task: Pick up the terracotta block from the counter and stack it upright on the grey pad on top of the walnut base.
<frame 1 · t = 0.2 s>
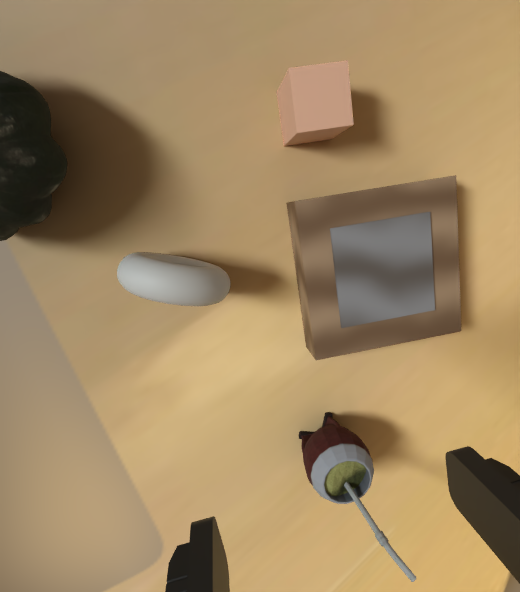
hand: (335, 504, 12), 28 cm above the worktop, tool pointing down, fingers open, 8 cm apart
donut: (180, 269, 38), on the worktop
mate gourd: (326, 436, 45), on the worktop
terracotta block: (304, 116, 37), on the worktop
squash: (1, 159, 34), on the worktop
walnut base: (367, 265, 41), on the worktop
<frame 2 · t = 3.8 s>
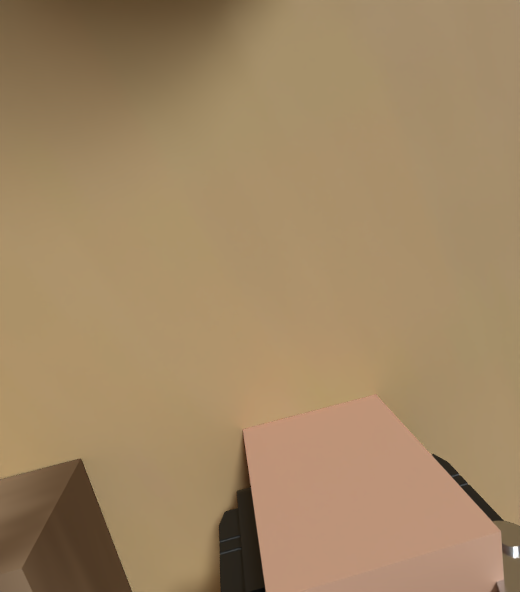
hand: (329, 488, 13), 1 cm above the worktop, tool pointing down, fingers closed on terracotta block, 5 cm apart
terracotta block: (321, 469, 14), on the worktop, touching gripper
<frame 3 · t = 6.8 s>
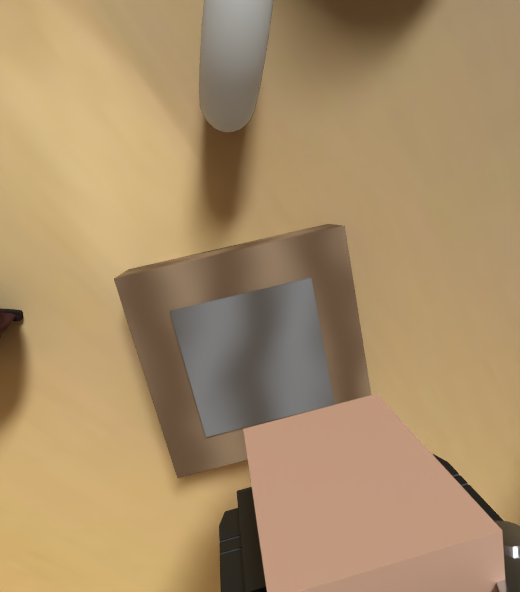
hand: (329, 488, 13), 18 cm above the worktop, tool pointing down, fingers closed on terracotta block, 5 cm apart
donut: (231, 72, 26), on the worktop
terracotta block: (322, 469, 14), point 17 cm above the worktop, touching gripper
walnut base: (251, 340, 31), on the worktop
when the fingers open (7 cm above the worktop, at t = 9.9 s): terracotta block drops 2 cm, resting on walnut base.
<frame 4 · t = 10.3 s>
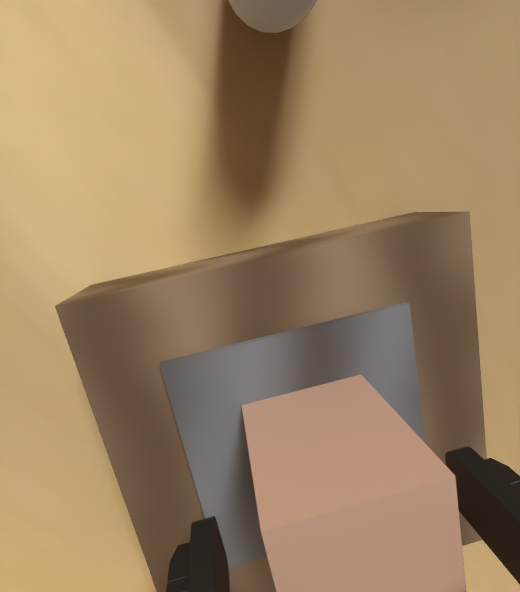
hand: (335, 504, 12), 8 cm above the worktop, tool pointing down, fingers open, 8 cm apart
terracotta block: (312, 442, 15), point 4 cm above the worktop, touching walnut base
walnut base: (289, 395, 20), on the worktop
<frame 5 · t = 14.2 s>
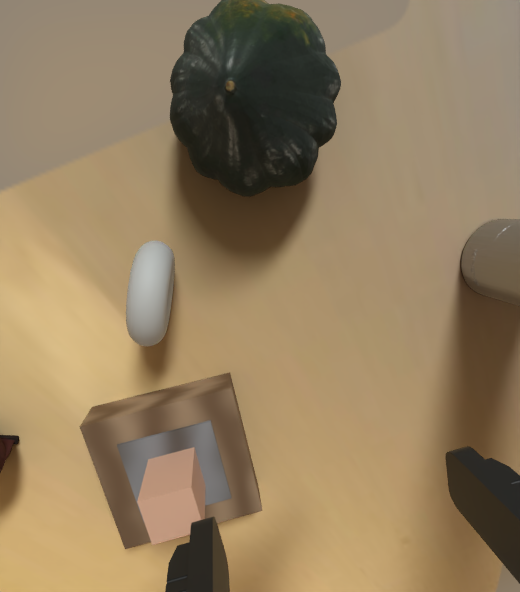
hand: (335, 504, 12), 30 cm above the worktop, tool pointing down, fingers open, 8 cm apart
donut: (159, 283, 40), on the worktop
terracotta block: (177, 472, 40), point 4 cm above the worktop, touching walnut base
squash: (249, 123, 38), on the worktop
walnut base: (179, 448, 44), on the worktop
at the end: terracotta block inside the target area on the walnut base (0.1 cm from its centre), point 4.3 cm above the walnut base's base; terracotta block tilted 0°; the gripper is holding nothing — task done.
